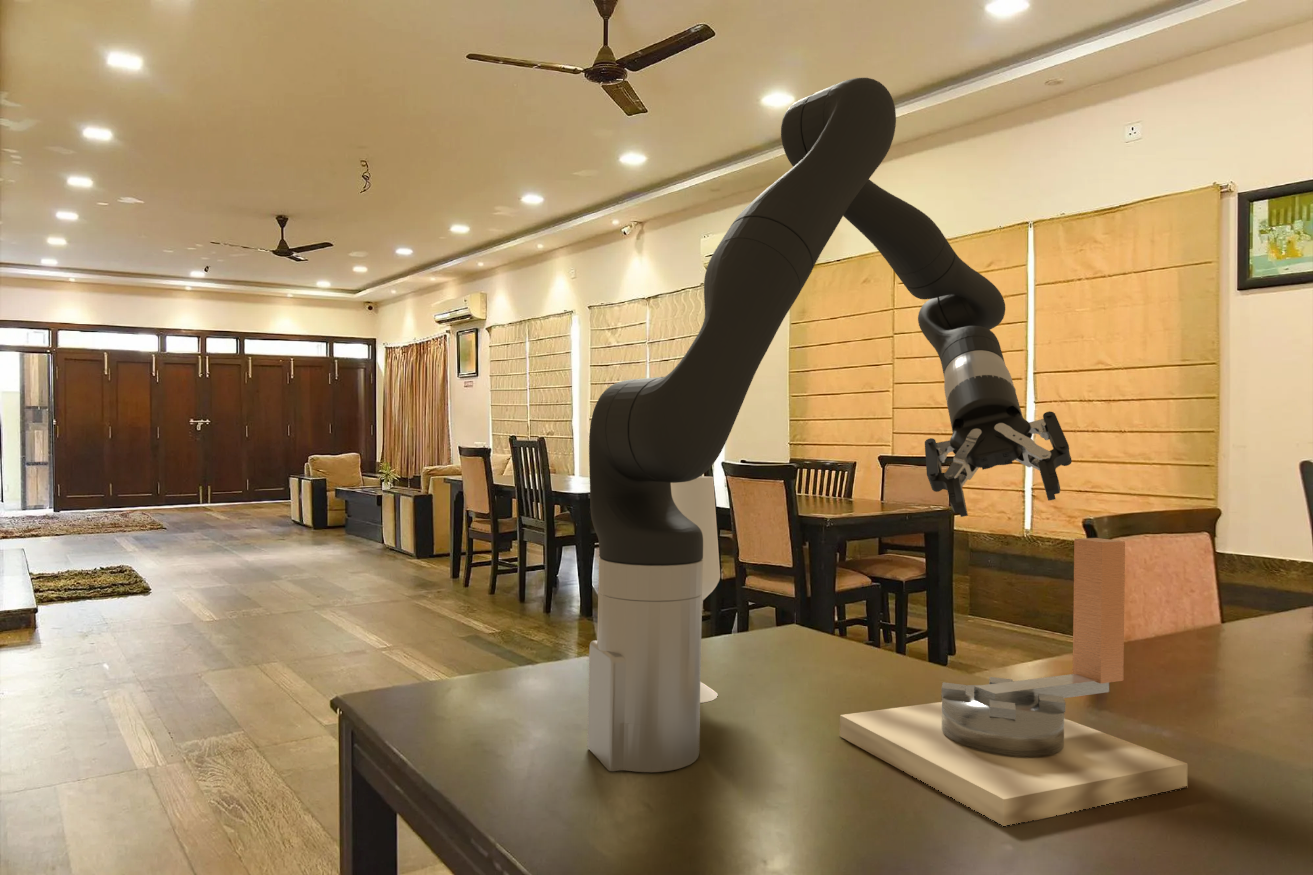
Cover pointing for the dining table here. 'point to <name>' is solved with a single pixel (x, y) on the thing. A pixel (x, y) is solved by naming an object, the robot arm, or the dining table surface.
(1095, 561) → the grey disc with bar
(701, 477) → the champagne flute
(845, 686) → the dining table surface
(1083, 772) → the maple base
